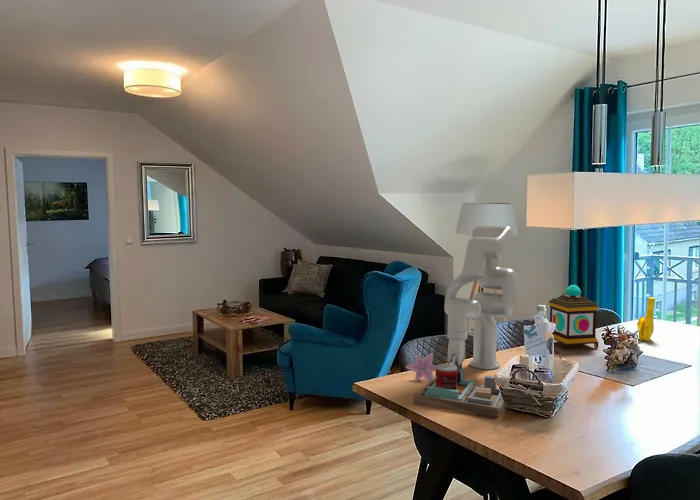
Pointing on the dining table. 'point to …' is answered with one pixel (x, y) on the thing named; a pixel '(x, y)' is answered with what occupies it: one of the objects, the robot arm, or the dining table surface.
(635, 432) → the dining table surface
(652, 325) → the yellow foam finger
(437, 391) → the teal rectangular frame
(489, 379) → the grey organizer tray
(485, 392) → the tan wooden cube
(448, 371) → the canned food
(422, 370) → the lily
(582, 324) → the decorative lantern
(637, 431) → the dining table surface
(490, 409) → the divided compartment tray
